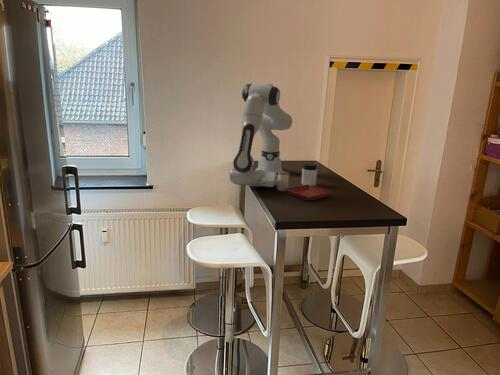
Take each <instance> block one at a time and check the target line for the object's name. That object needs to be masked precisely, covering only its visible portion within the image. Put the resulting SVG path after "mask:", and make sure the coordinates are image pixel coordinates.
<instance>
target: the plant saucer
mask: <svg viewBox="0 0 500 375" xmlns="http://www.w3.org/2000/svg"><path fill="white" fill-rule="evenodd" d="M285 190H286V191H285V192H287V193H288V195H291V196H294V197H296V198H298V199H302V200H304V201H310V200H311V201H314V200H319V199H323V198H327V197H329V196H330V195H331V194H332V191H331V190H327V189H324V188H320V187H318V186H316V185H314V186H311V185H303V184H302V185H298V186H294V187H292V186H291V187H288V188H287V189H285Z"/></svg>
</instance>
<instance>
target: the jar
mask: <svg viewBox="0 0 500 375" xmlns="http://www.w3.org/2000/svg"><path fill="white" fill-rule="evenodd" d="M317 172H318V164H316V163H314V162H313V163H311V162H307V163H305V162H304V163H302V169H301V180H300V181H301V184H302V186H303V185H311V186H316V185H317V175H318V173H317Z"/></svg>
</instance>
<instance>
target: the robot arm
mask: <svg viewBox="0 0 500 375" xmlns="http://www.w3.org/2000/svg"><path fill="white" fill-rule="evenodd" d="M241 98H242V99H243V101H244V102H245V103H244V107H243V110H242V117H241V139H240V143H239V148H238V149H239V150H238V152H237V154H236V155H235V157H234V159H233V164H232V165H233V166H232V168H231V169H230V171H229V179H230V182H231V183H232V184H234V185H238V186H251V187H268V188H273V187H274V186H275V185H277V184H283V180H278V171H284V169H283V168H282V159H281V158H280V154H281V153H280V142H281V141H280V138H279V137H278V136H277V135H276V134H274V133H273V132H272V130H274V131H285V130H290V129H291V127H292V125H293V118H292V115H290V113H289V114H288V113H287V112H285V111H284V110H283V109H282V108H281V106H280V103H279V102H280V100H281V90H280V89H279V87H276V86H274V85H273V84H272V83H270V82H264V83H262V84H256V83H254V84H253V83H246V84H245V85H244V86H243V88H242V91H241ZM258 131H259V133H260V136H261V139H262V141H261V142H262V146H261V147H262V150H261V153H260V155H261V157H259V159H258V166H257V167H256V168H255V169H253V167H254V162H255V160H254V157H253V156H252V155H251V154H252V153H251V152H252V146H253V142H254V138H255V136H256V134H257V133H258Z"/></svg>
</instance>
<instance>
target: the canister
mask: <svg viewBox="0 0 500 375" xmlns="http://www.w3.org/2000/svg"><path fill="white" fill-rule="evenodd" d="M277 175H278V179H277V180H283V184H276V190H277V191H281V192H287V191H286V190H285V189H287V188H289V178H290V172H289V171H287V170H283V171H278V173H277Z"/></svg>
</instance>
